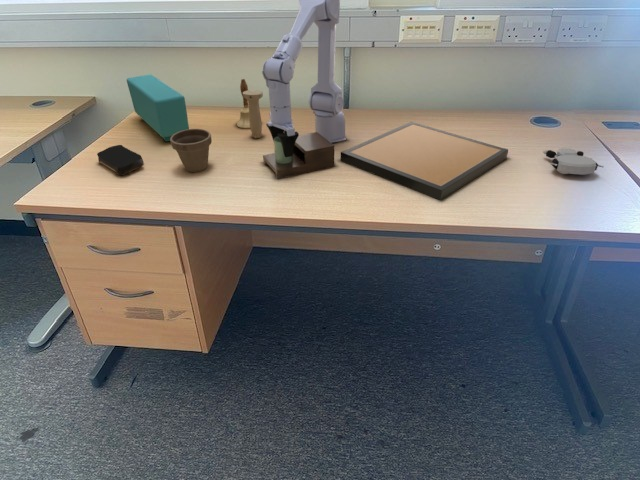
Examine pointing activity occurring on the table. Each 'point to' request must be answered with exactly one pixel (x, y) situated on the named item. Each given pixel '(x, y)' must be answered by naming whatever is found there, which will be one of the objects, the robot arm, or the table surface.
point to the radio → (158, 105)
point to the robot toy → (571, 162)
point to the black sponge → (120, 159)
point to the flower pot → (192, 148)
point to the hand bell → (244, 112)
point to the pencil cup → (280, 152)
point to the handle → (254, 111)
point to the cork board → (425, 158)
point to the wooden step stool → (315, 153)
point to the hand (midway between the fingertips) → (283, 151)
